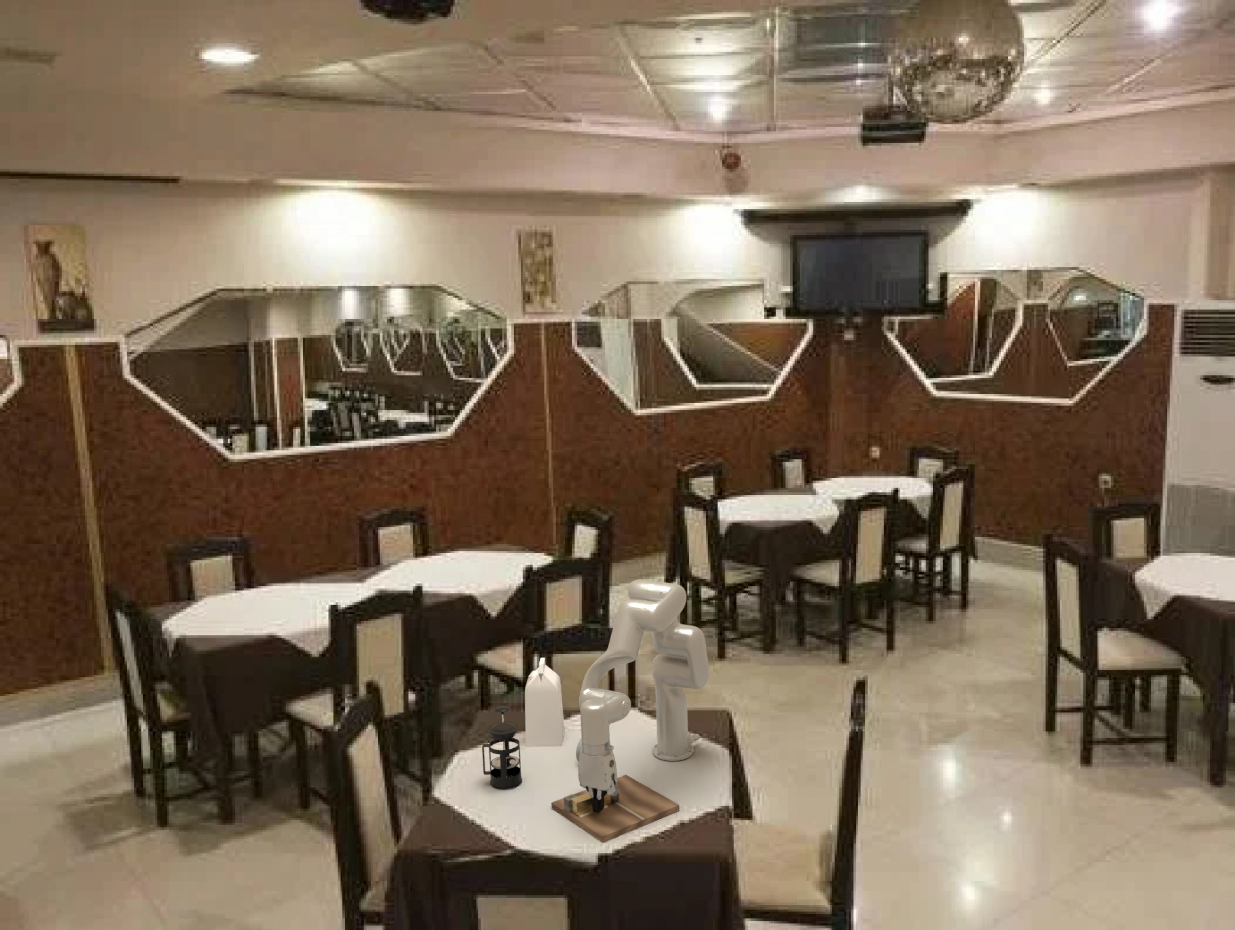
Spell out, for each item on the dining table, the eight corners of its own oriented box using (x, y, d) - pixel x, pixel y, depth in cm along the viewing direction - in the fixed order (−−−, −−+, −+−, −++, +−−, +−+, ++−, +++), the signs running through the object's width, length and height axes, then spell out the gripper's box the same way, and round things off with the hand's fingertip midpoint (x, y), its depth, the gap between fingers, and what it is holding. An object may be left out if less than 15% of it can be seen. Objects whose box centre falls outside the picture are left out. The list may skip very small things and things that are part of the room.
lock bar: (613, 794, 284) (613, 782, 284) (622, 800, 281) (621, 788, 281) (570, 810, 276) (569, 798, 276) (578, 815, 273) (577, 803, 273)
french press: (525, 774, 303) (522, 700, 299) (523, 789, 294) (519, 713, 290) (486, 775, 303) (482, 702, 299) (482, 790, 294) (478, 714, 290)
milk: (562, 745, 322) (558, 667, 318) (525, 746, 322) (521, 668, 318) (564, 730, 334) (561, 654, 330) (529, 731, 334) (525, 655, 330)
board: (626, 779, 297) (625, 763, 297) (679, 810, 278) (679, 792, 278) (551, 807, 282) (550, 790, 281) (602, 842, 263) (602, 823, 262)
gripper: (627, 746, 271) (629, 810, 274) (580, 735, 279) (582, 798, 282) (612, 757, 265) (614, 823, 268) (564, 746, 273) (567, 810, 275)
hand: (598, 810), depth 275 cm, fingers closed
